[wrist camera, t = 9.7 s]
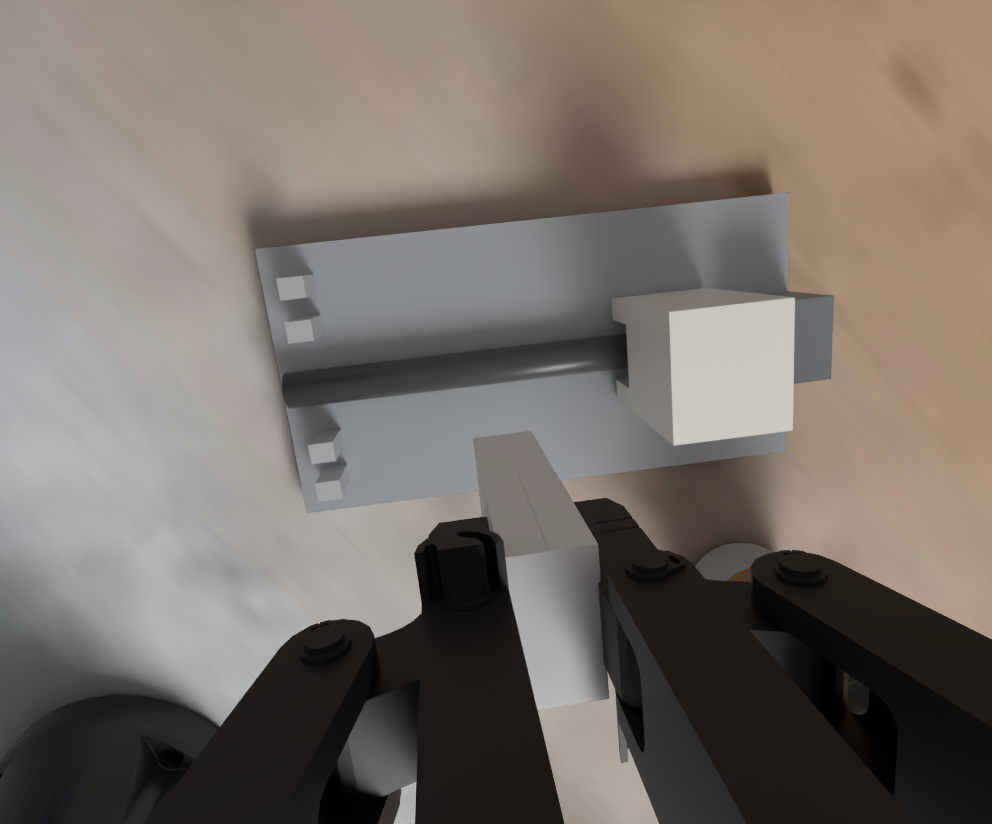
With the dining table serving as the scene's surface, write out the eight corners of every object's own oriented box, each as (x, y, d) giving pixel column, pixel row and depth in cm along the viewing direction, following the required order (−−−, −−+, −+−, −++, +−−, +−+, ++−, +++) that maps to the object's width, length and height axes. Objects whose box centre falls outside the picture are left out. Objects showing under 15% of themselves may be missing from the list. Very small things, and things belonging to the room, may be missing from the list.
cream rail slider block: (617, 399, 33) (673, 445, 25) (611, 298, 32) (668, 311, 23) (707, 388, 33) (792, 430, 25) (705, 287, 32) (794, 297, 24)
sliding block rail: (312, 502, 35) (288, 546, 30) (263, 249, 31) (226, 247, 26) (771, 443, 36) (827, 475, 31) (773, 195, 33) (837, 182, 27)
